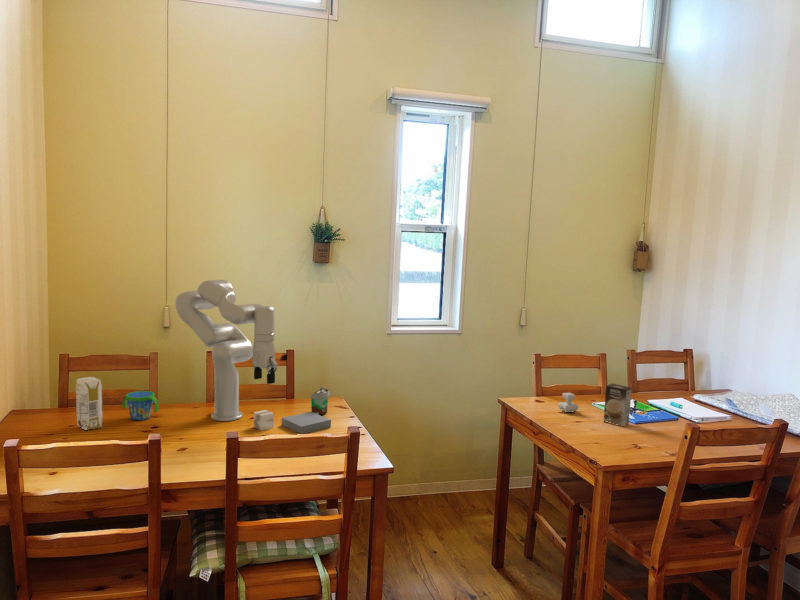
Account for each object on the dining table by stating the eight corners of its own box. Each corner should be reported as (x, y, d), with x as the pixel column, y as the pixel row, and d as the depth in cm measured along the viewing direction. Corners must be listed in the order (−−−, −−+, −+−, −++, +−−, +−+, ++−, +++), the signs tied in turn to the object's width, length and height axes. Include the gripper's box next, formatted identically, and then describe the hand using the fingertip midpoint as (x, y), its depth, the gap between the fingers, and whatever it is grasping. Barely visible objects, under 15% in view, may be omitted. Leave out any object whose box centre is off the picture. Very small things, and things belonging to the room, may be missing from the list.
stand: (281, 425, 238) (281, 417, 238) (310, 418, 248) (310, 411, 248) (301, 434, 228) (301, 426, 228) (330, 427, 238) (330, 419, 237)
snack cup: (165, 417, 244) (165, 393, 243) (145, 424, 234) (145, 399, 233) (135, 412, 249) (135, 388, 248) (115, 419, 239) (115, 394, 238)
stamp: (563, 414, 265) (564, 396, 264) (555, 410, 271) (556, 392, 270) (580, 413, 267) (581, 395, 266) (572, 409, 274) (573, 391, 273)
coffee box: (602, 422, 255) (604, 385, 254) (608, 419, 260) (611, 383, 258) (623, 427, 249) (626, 389, 247) (629, 424, 254) (632, 387, 252)
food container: (324, 418, 249) (324, 395, 248) (310, 417, 250) (310, 393, 249) (333, 410, 261) (333, 387, 260) (320, 409, 262) (320, 386, 261)
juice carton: (83, 432, 223) (82, 382, 221) (75, 427, 229) (73, 378, 227) (104, 428, 228) (103, 379, 227) (95, 422, 234) (94, 375, 232)
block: (253, 427, 235) (253, 412, 235) (266, 424, 239) (266, 409, 238) (260, 430, 231) (261, 415, 231) (273, 427, 235) (273, 413, 234)
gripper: (244, 335, 235) (244, 378, 237) (267, 341, 222) (267, 386, 224) (261, 334, 240) (261, 375, 242) (284, 339, 228) (284, 383, 229)
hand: (264, 381), depth 233 cm, fingers open, 9 cm apart
